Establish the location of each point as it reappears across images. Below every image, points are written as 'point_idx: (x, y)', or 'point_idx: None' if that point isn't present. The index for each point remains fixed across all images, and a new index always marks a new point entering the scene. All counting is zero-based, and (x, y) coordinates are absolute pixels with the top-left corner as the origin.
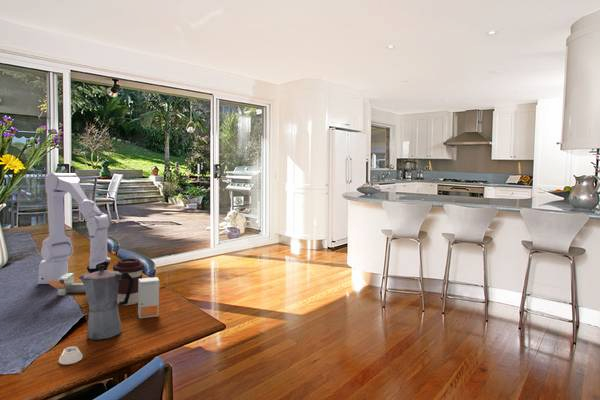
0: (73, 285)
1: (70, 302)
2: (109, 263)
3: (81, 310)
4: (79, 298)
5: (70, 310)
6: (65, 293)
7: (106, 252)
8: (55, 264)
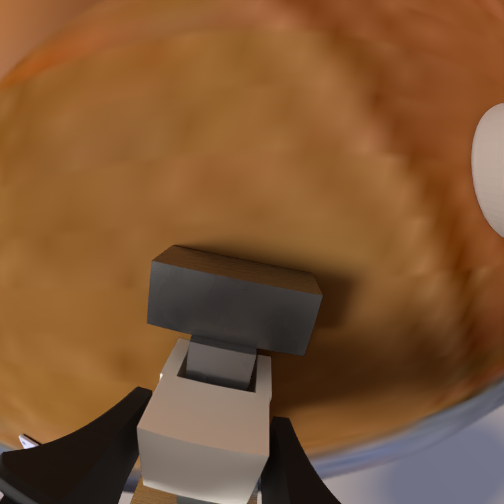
0: None
1: (381, 453)
2: (8, 452)
3: (500, 382)
4: (336, 440)
5: (476, 418)
6: (256, 490)
7: None
8: None
